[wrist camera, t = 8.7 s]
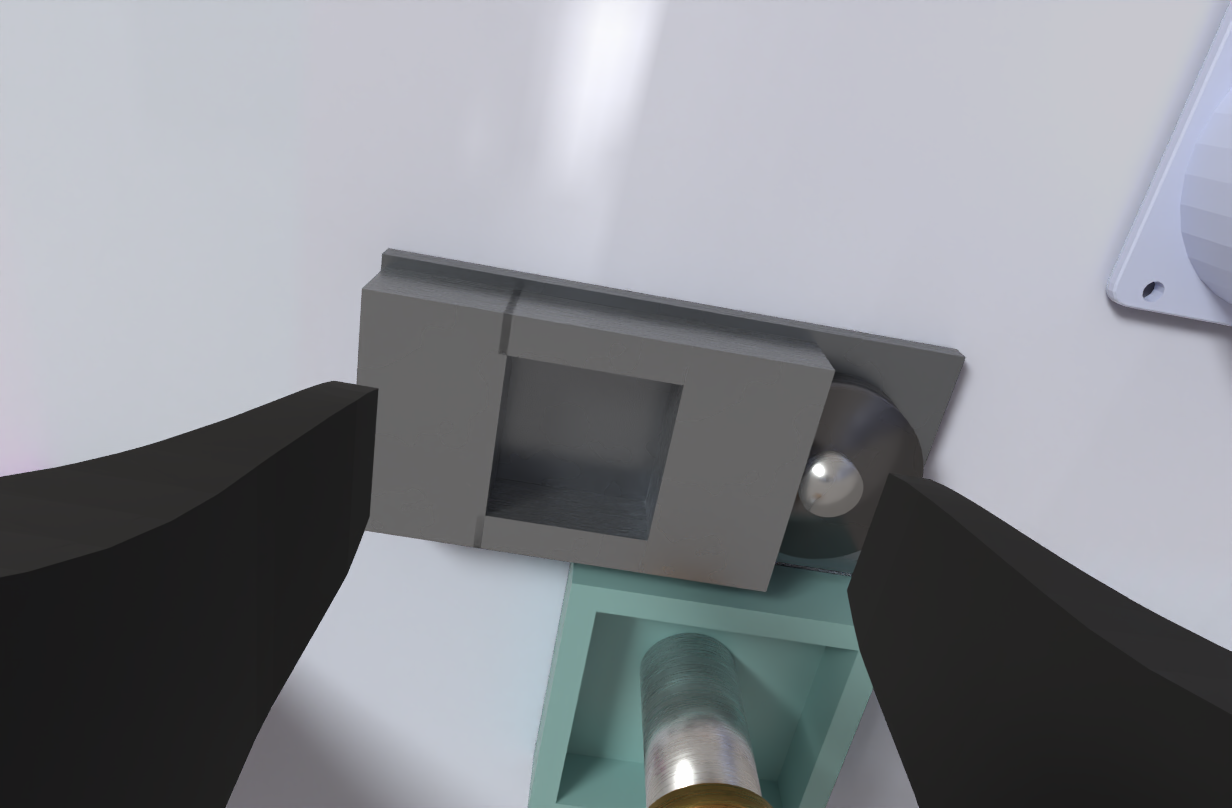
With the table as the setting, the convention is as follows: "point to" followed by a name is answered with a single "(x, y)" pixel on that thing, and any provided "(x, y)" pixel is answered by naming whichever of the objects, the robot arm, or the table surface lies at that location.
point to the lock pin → (695, 727)
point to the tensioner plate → (633, 423)
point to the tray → (766, 668)
